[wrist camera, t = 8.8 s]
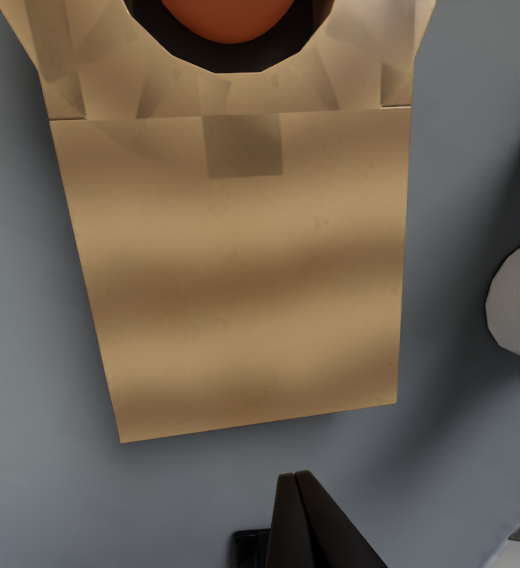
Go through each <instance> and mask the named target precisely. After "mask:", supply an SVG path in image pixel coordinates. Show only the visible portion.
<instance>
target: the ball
mask: <svg viewBox="0 0 520 568" xmlns="http://www.w3.org/2000/svg"><path fill="white" fill-rule="evenodd" d="M161 1H162V3H163V4H164V5H165V6H166V8H167V9H168V10H169V11H170V13H171V14H172V15H173V16H174V17H175V18H176V19H177V20H178V21H179V22H180V23H181V24H183V25H184V26H185V27H187V28H188V29H189V30H191V31H192V32H194V33H195V34H197V35H199V36H201V37H203V38H205V39H208V40H211V41H214V42H219V43H227V44H235V43H242V42H246V41H249V40H252V39H254V38H257V37H259V36H261V35H262V34H264V33H265V32H267V31H268V30H270V29H271V28H272V27H273V26H274V25H275V24H276V23H277V22H278V21H279V20H280V19H281V18H282V17H283V16H284V14H285V13H286V12H287V11H288V9H289V8H290V6H291V5H292V3H293V2H294V0H161Z"/></svg>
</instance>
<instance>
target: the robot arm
mask: <svg viewBox="0 0 520 568" xmlns="http://www.w3.org/2000/svg"><path fill="white" fill-rule="evenodd" d="M231 568H388V567H387V566H386V564H385V563H384V562H383V561H382V559H381V558H380V557H379V556H378V554H377V553H376V552H375V551H374V549H373V548H372V547H371V546H370V545H369V543H368V542H367V541H366V540H365V538H364V537H363V536H362V535H361V533H360V532H359V531H358V530H357V528H356V527H355V526H354V525H353V524H352V522H351V521H350V520H349V519H348V517H347V516H346V515H345V514H344V512H343V511H342V510H341V509H340V507H339V506H338V505H337V504H336V503H335V501H334V500H333V499H332V498H331V496H330V495H329V494H328V493H327V491H326V490H325V489H324V488H323V487H322V485H321V484H320V483H319V482H318V480H317V479H316V478H315V477H314V475H313V474H312V473H311V472H310V471H308V470H304V471H298V472H295V473H294V474H293V473H286V474H280V475H279V476H278V482H277V489H276V496H275V503H274V510H273V517H272V524H271V529H261V530H247V531H237V532H235V533H234V534H233V537H232V554H231Z"/></svg>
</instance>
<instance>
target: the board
mask: <svg viewBox="0 0 520 568" xmlns="http://www.w3.org/2000/svg"><path fill="white" fill-rule="evenodd" d="M436 2H437V0H313V30H312V33H311V36H310V39H309V40H308V42H307V43H306V44H305V45H304V47H303V48H302V49H301V50H300V52H298V53H297V54H295V55H293V56H291V57H289V58H287V59H285V60H283V61H281V62H279V63H277V64H275V65H273V66H272V67H270V68H268V69H266V70H264V71H262V72H256V73H220V74H215V73H212V72H210V71H208V70H205V69H203V68H201V67H198V66H196V65H193V64H191V63H189V62H186V61H184V60H182V59H179V58H177V57H175V56H172V55H171V54H170V53H169V52H168V51H167V50H166V49H165V48H164V47H163V46H161V45H160V44H159V43H158V42H157V41H156V40H155V39H154V38H153V37H152V36H151V35H150V34H149V33H148V32H147V31H146V30H145V29H144V28H143V27H142V26H141V25H140V24H139V23H138V22H137V21H136V20H135V17H134V11H133V4H132V0H0V10H1V12H2V14H3V15H4V17H5V18H6V20H7V22H8V23H9V25H10V27H11V28H12V30H13V31H14V33H15V35H16V36H17V38H18V40H19V41H20V43H21V44H22V46H23V48H24V49H25V51H26V53H27V54H28V56H29V57H30V59H31V61H32V62H33V64H34V66H35V67H36V69H37V70H38V74H39V78H40V83H41V87H42V92H43V96H44V101H45V105H46V110H47V114H48V118H49V120H51V121H49V124H50V128H51V133H52V137H53V142H54V146H55V151H56V155H57V160H58V164H59V169H60V173H61V178H62V182H63V187H64V191H65V196H66V200H67V205H68V209H69V214H70V218H71V223H72V227H73V232H74V236H75V241H76V245H77V250H78V254H79V259H80V263H81V268H82V272H83V277H84V281H85V285H86V290H87V294H88V299H89V303H90V308H91V312H92V317H93V321H94V326H95V330H96V335H97V339H98V344H99V348H100V353H101V357H102V362H103V366H104V371H105V375H106V380H107V384H108V389H109V393H110V398H111V402H112V407H113V411H114V416H115V420H116V425H117V429H118V433H119V438H120V442H121V443H128V442H135V441H142V440H149V439H156V438H163V437H169V436H176V435H183V434H190V433H197V432H204V431H211V430H218V429H225V428H231V427H238V426H245V425H252V424H259V423H266V422H273V421H280V420H286V419H293V418H300V417H307V416H314V415H321V414H328V413H335V412H341V411H348V410H355V409H362V408H369V407H376V406H383V405H390V404H396V403H397V384H398V364H399V344H400V325H401V305H402V285H403V266H404V246H405V226H406V207H407V187H408V167H409V148H410V128H411V104H412V89H413V70H414V59H415V57H416V54H417V51H418V49H419V46H420V44H421V41H422V38H423V36H424V33H425V31H426V28H427V25H428V23H429V20H430V18H431V15H432V12H433V10H434V7H435V5H436Z"/></svg>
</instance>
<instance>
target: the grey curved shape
mask: <svg viewBox="0 0 520 568" xmlns="http://www.w3.org/2000/svg"><path fill="white" fill-rule="evenodd" d="M485 308H486V317H487V325H488V328H489V330H490V332H491V333H492V335H493V336H494V338H495V340H496V341H497V343H498V344H499V346H501V347H503V348H505V349H507V350H509V351H511V352H513V353H515V354H517V355H520V248H519V249H517V250H516V251H515V252H514V253H512V254H511V255H510V256H509V257H507V258H506V260H505V261H504V263H503V264H502V266H501V267H500V269H499V271H498V272H497V274H496V275H495V277H494V278H493V280H492V282H491V285H490V289H489V293H488V296H487V300H486V303H485ZM508 539H509V540H513V541H520V528H518V529H517V530H516V531H515V532H514V533H513V534H511V535H510V536H509V537H508Z"/></svg>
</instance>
